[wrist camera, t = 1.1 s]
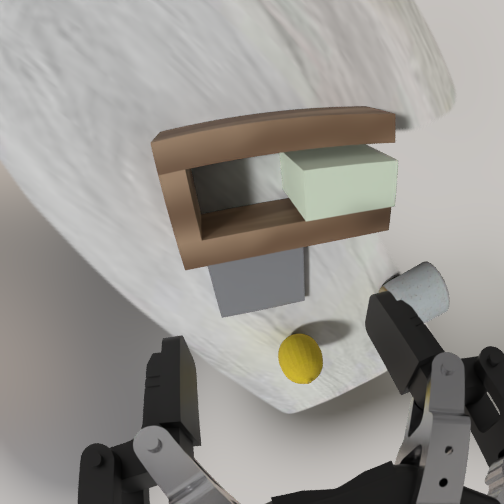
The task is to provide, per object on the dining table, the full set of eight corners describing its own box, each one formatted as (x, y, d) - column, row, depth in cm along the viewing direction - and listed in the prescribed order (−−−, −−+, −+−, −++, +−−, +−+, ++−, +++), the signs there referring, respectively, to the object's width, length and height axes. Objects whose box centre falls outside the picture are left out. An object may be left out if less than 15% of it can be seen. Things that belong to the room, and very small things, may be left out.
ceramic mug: (371, 278, 36) (400, 319, 30) (420, 250, 35) (454, 285, 29) (380, 322, 42) (402, 359, 35) (422, 297, 41) (447, 331, 34)
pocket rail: (160, 132, 23) (150, 143, 19) (365, 106, 24) (395, 113, 20) (186, 240, 29) (185, 270, 25) (364, 207, 30) (388, 229, 26)
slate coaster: (202, 242, 29) (202, 246, 28) (300, 223, 30) (302, 227, 29) (221, 312, 35) (221, 317, 34) (302, 296, 35) (304, 300, 35)
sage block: (278, 148, 25) (303, 170, 20) (357, 140, 26) (398, 160, 20) (282, 189, 28) (306, 221, 22) (357, 178, 28) (394, 206, 22)
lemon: (319, 327, 39) (339, 372, 32) (295, 351, 41) (310, 396, 35) (289, 316, 37) (306, 366, 30) (264, 343, 39) (277, 391, 32)
